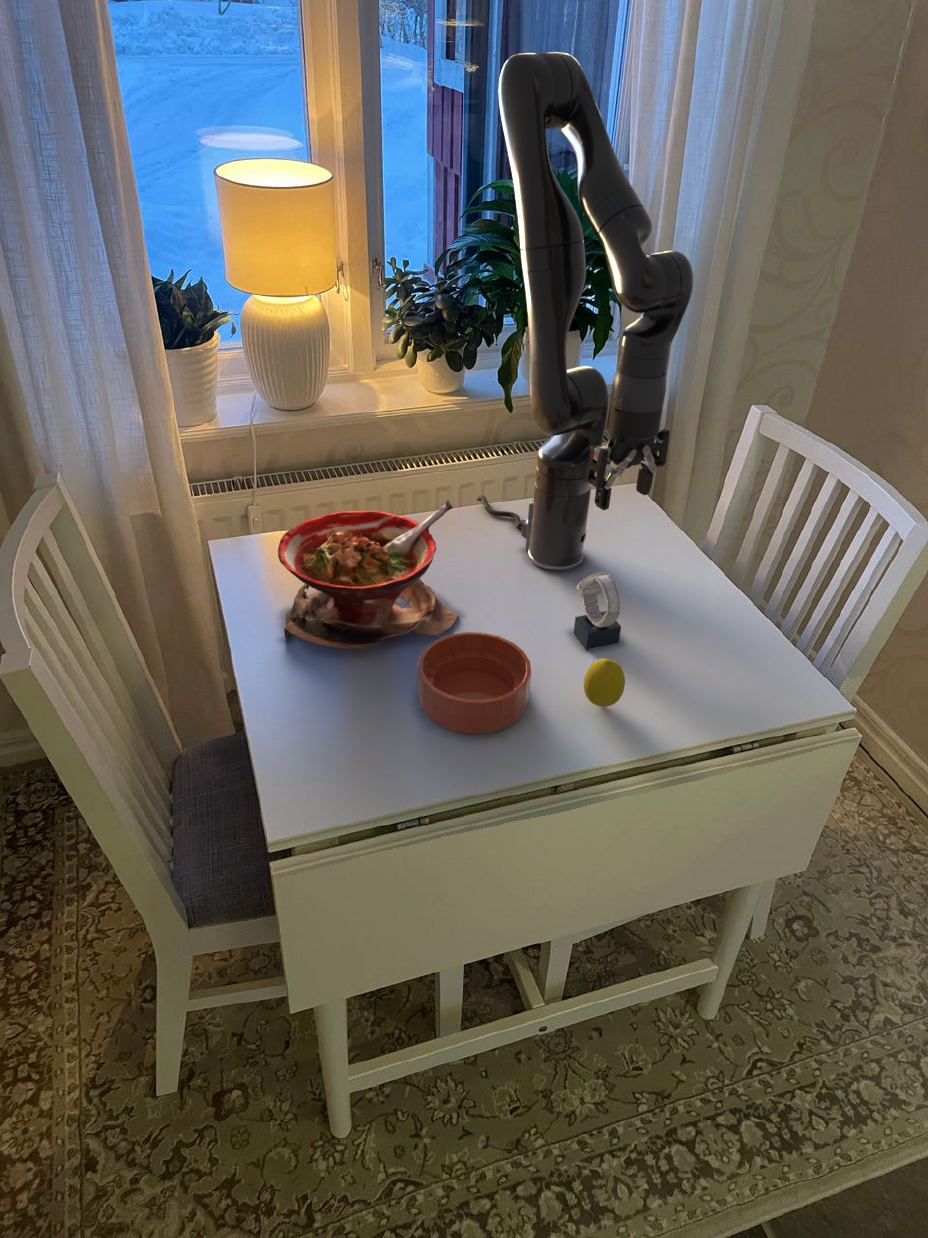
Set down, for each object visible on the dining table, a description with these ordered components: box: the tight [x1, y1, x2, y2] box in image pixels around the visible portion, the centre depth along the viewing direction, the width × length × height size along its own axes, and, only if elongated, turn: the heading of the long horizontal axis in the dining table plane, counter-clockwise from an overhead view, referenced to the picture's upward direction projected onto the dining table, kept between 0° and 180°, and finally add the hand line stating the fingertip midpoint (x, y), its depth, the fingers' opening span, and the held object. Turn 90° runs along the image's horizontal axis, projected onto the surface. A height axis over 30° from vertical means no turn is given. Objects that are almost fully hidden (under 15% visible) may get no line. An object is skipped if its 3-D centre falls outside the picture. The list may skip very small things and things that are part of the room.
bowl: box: [417, 631, 532, 734], centre depth 128 cm, size 15×15×6 cm
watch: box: [572, 572, 622, 651], centre depth 139 cm, size 6×8×11 cm
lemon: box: [583, 658, 626, 708], centre depth 127 cm, size 6×6×8 cm
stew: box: [277, 499, 458, 649], centre depth 141 cm, size 28×24×16 cm
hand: (622, 500), depth 142 cm, fingers open, 8 cm apart
